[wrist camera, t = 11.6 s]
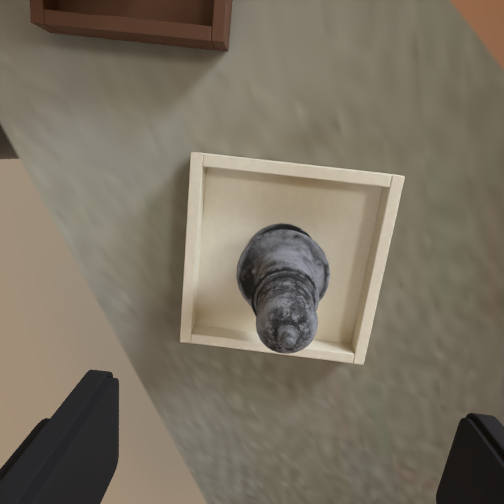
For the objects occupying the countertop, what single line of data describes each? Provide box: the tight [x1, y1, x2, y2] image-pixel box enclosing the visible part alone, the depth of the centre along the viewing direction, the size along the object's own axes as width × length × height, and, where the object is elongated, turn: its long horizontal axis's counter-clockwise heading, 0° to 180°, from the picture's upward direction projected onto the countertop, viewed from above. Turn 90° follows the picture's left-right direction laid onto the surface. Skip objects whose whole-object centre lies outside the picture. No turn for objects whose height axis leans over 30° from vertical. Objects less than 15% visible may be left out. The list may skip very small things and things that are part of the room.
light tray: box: [180, 152, 405, 365], centre depth 26 cm, size 14×14×2 cm
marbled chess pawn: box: [236, 223, 330, 354], centre depth 20 cm, size 6×6×12 cm
